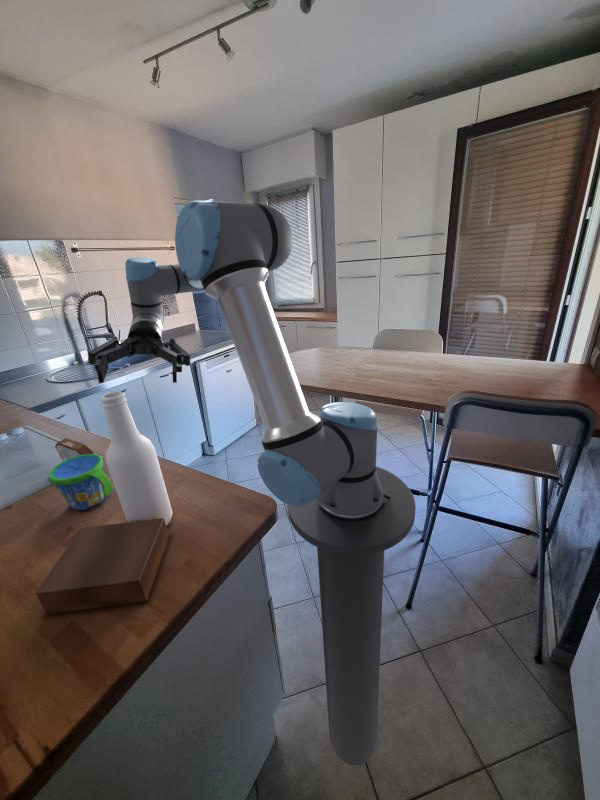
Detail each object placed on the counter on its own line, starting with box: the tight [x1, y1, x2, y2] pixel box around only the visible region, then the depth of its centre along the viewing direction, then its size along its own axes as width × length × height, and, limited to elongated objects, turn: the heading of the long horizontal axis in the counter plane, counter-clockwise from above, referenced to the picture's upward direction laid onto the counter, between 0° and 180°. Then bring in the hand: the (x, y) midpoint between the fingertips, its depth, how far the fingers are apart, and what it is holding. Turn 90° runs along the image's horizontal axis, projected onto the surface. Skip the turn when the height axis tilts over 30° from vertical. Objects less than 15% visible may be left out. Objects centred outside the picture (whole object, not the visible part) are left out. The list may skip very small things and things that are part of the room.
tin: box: [54, 437, 95, 462], centre depth 93 cm, size 15×3×8 cm, turn 62°
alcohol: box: [99, 391, 173, 527], centre depth 66 cm, size 9×9×30 cm
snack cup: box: [48, 453, 114, 511], centre depth 79 cm, size 16×10×10 cm
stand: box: [35, 518, 170, 615], centre depth 60 cm, size 16×14×5 cm
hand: (138, 377), depth 67 cm, fingers open, 13 cm apart
